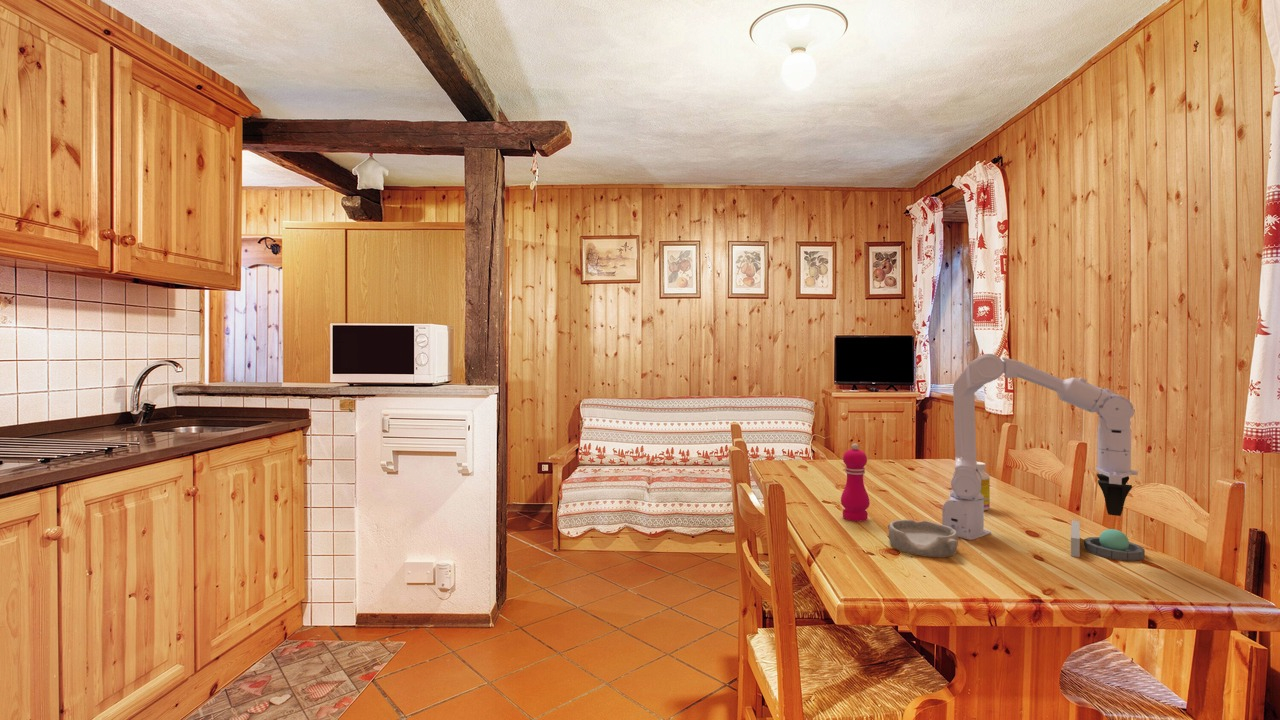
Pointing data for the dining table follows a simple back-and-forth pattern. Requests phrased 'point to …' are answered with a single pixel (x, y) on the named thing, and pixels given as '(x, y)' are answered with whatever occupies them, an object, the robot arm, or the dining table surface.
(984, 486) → the supplement bottle
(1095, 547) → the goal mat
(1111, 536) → the ball
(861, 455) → the pepper mill
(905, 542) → the dish
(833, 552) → the dining table surface
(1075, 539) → the acrylic wall
